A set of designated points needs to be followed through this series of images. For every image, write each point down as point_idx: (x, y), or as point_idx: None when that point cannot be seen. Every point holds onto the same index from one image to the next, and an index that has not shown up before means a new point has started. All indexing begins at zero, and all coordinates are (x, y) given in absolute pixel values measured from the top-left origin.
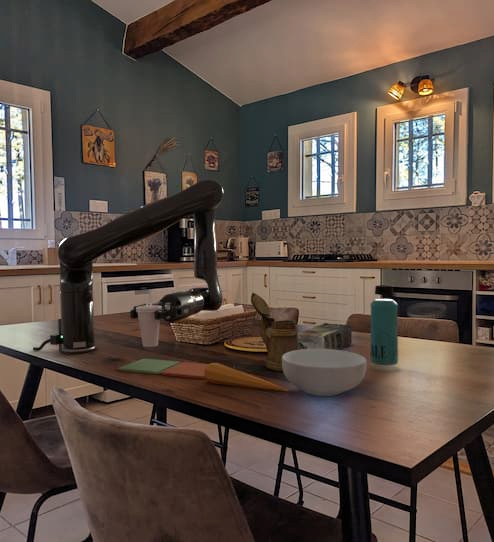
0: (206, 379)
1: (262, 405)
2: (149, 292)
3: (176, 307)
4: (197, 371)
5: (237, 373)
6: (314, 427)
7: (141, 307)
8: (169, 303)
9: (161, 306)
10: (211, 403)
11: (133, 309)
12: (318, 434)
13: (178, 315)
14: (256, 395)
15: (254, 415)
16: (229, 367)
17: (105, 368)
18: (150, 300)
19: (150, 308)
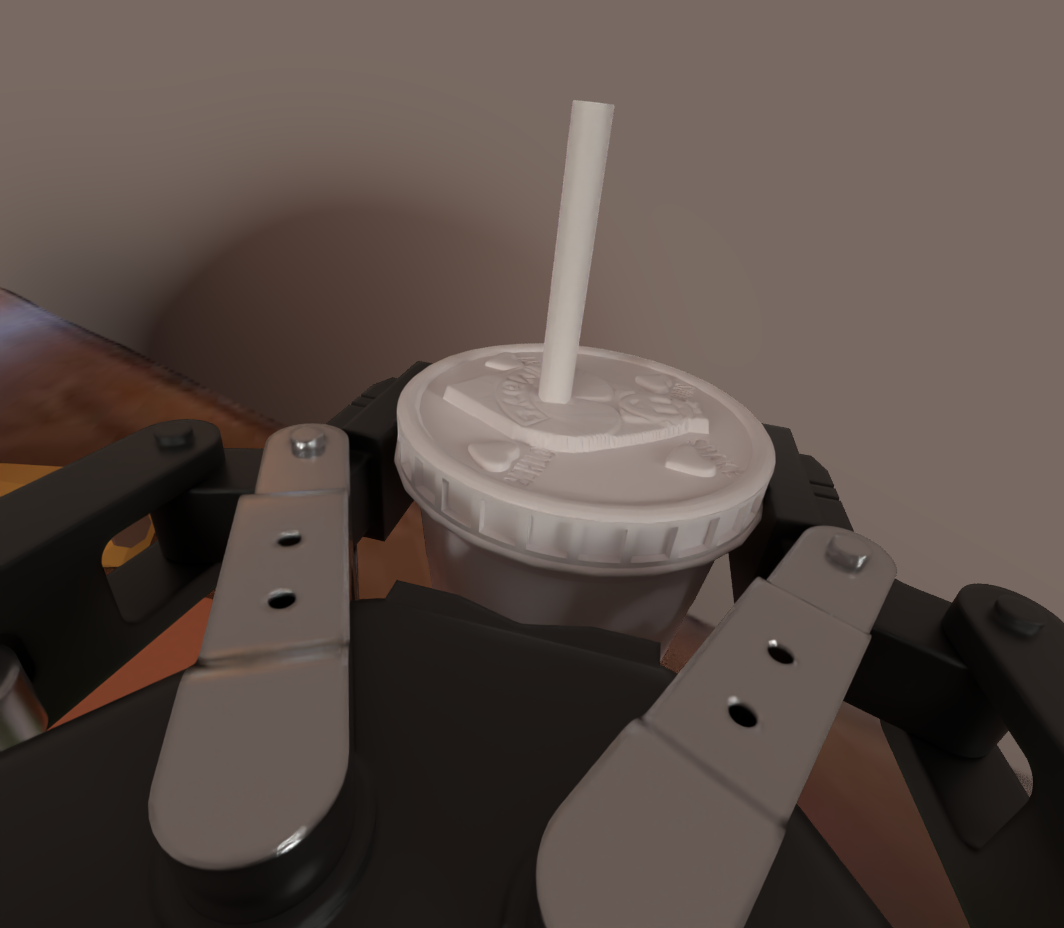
0: (150, 540)
1: (50, 398)
2: (596, 166)
3: (120, 478)
4: (154, 667)
5: (4, 463)
6: (11, 333)
7: (655, 382)
8: (222, 663)
9: (401, 420)
10: (202, 408)
11: (781, 438)
12: (29, 320)
13: (132, 565)
14: (11, 447)
15: (113, 365)
16: (10, 480)
17: (818, 777)
18: (563, 303)
19: (509, 346)
